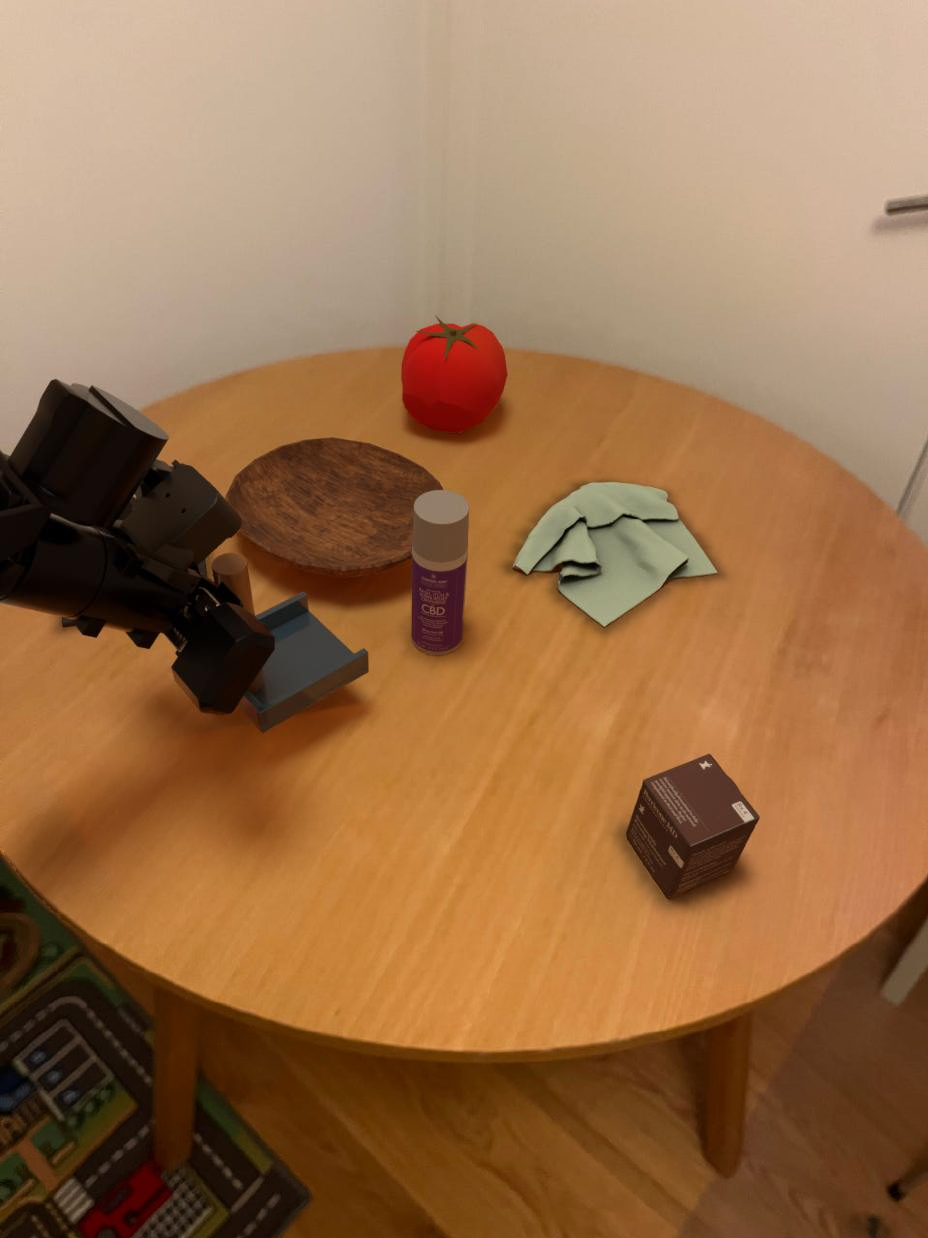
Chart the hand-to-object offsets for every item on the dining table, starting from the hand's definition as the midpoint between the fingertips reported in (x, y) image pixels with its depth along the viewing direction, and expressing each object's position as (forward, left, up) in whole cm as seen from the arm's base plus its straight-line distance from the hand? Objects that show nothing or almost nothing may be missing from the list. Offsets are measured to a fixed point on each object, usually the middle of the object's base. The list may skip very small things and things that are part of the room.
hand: (254, 621), depth 68 cm
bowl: (+10, +22, -12) cm, 27 cm away
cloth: (+36, +14, -12) cm, 40 cm away
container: (+16, +6, -12) cm, 21 cm away
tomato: (+27, +41, -12) cm, 50 cm away
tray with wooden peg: (+2, +1, -7) cm, 7 cm away
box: (+28, -20, -12) cm, 36 cm away
